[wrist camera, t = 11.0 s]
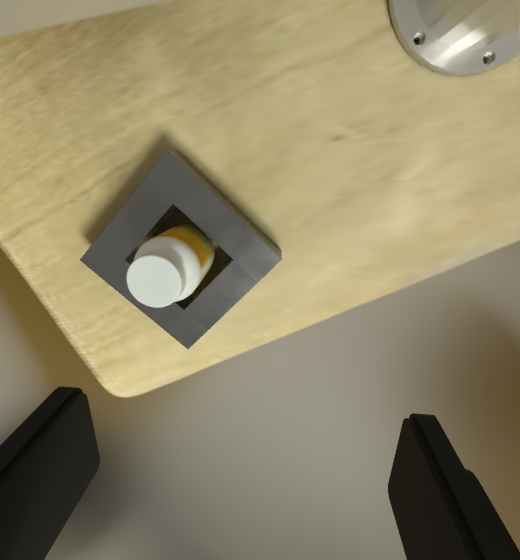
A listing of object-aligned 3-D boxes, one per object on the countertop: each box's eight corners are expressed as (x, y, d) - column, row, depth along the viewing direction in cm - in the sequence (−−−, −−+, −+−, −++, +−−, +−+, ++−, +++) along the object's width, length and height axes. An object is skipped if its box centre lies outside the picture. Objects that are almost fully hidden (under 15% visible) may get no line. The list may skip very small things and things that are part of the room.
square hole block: (178, 151, 29) (167, 149, 26) (281, 251, 32) (281, 259, 29) (96, 251, 33) (79, 260, 30) (195, 334, 35) (188, 349, 33)
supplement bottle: (212, 280, 33) (187, 323, 24) (160, 270, 33) (115, 310, 24) (219, 227, 31) (194, 253, 22) (163, 218, 31) (116, 239, 22)
